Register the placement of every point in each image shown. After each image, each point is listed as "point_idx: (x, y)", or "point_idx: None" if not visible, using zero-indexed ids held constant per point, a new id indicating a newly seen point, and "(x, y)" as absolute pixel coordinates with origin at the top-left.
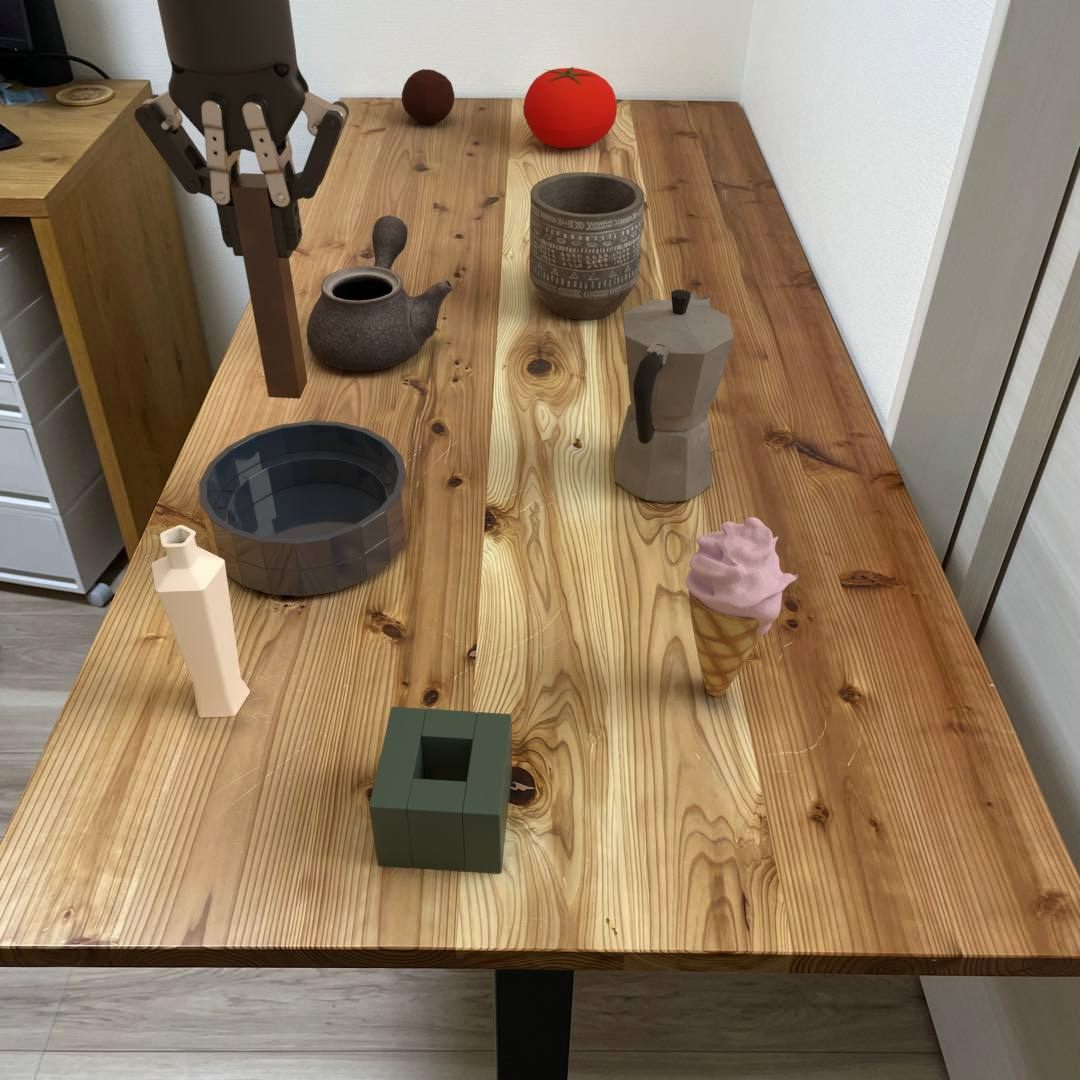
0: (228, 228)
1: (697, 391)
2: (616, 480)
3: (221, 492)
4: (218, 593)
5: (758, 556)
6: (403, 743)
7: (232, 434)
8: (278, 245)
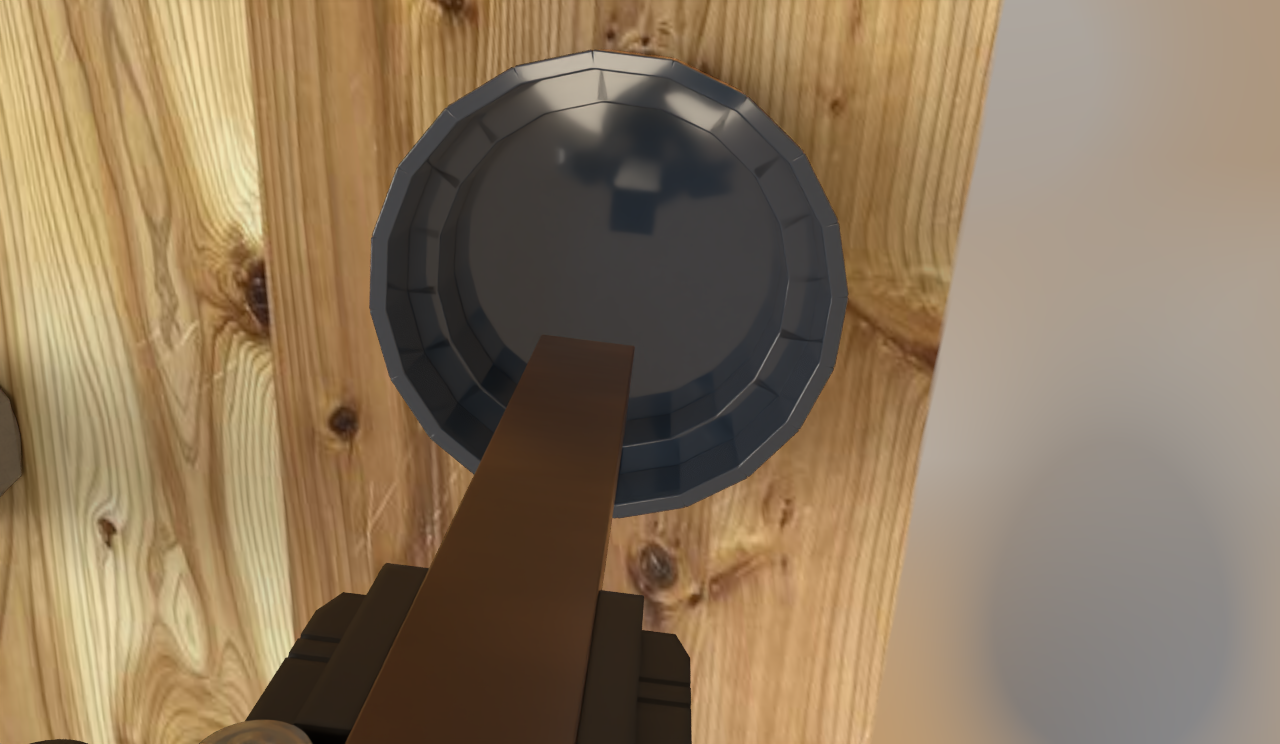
0: (650, 694)
1: None
2: (4, 399)
3: (807, 333)
4: None
5: None
6: None
7: (824, 599)
8: (405, 595)
